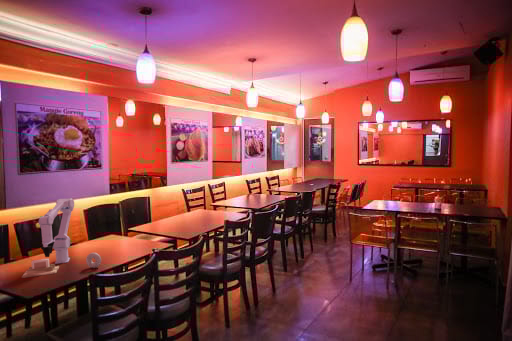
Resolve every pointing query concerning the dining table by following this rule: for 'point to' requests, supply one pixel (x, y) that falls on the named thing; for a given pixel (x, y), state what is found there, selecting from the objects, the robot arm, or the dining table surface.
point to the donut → (97, 258)
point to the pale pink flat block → (40, 263)
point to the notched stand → (41, 271)
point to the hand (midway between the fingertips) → (48, 255)
